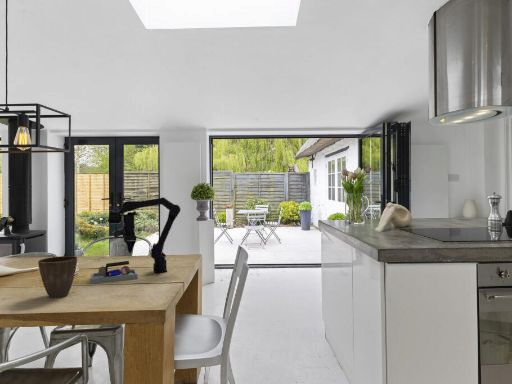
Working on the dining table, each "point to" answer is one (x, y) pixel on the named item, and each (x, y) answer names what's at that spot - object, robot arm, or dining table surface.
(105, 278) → the cradle
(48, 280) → the plant pot
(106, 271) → the figurine character
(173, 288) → the dining table surface
